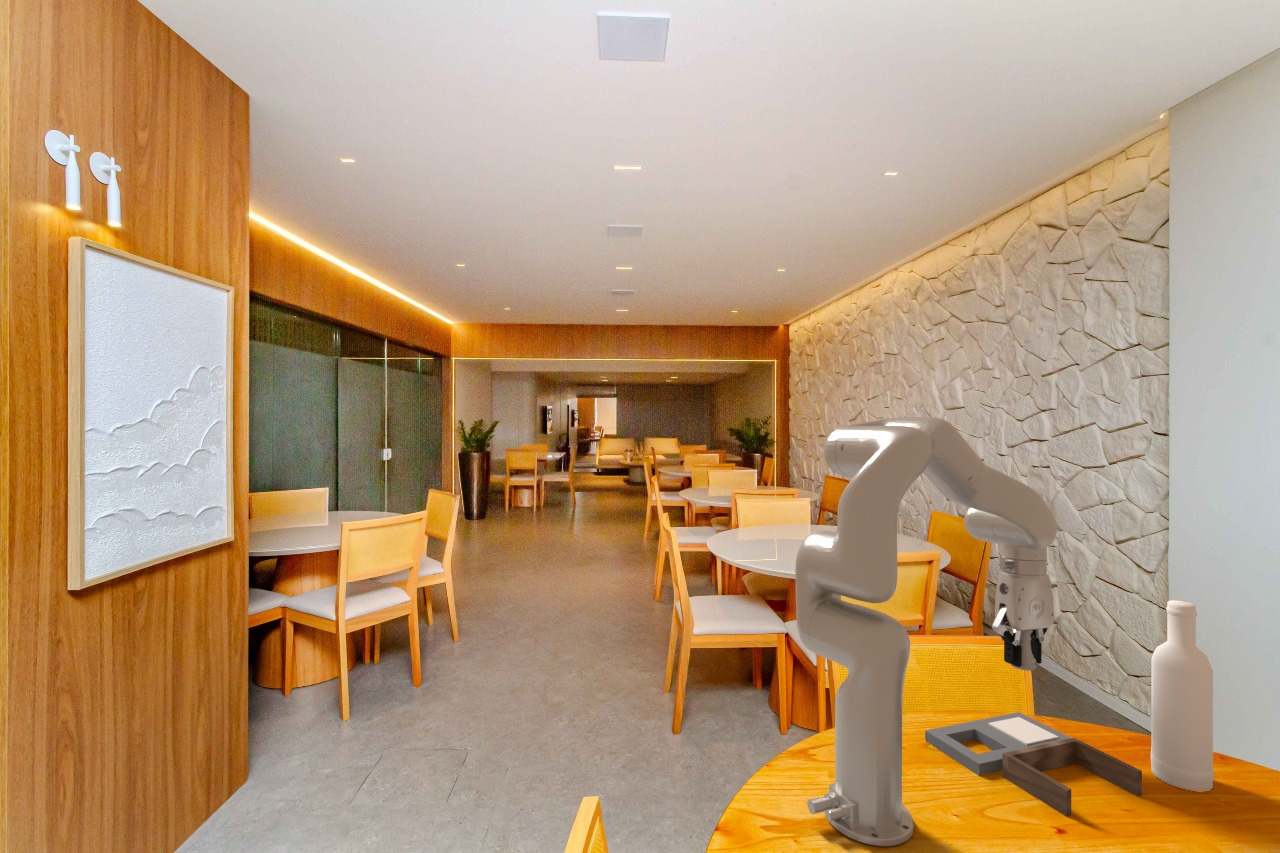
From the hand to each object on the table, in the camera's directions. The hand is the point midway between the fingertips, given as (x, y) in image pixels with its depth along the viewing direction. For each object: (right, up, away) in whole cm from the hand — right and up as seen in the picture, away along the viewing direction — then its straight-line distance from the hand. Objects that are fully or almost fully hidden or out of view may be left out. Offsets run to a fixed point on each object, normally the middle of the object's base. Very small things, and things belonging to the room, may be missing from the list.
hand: (1022, 661), depth 113 cm
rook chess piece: (0, -1, 0) cm, 1 cm away
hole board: (-5, -15, -2) cm, 16 cm away
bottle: (+19, -16, -12) cm, 27 cm away
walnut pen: (-1, -15, -15) cm, 21 cm away
